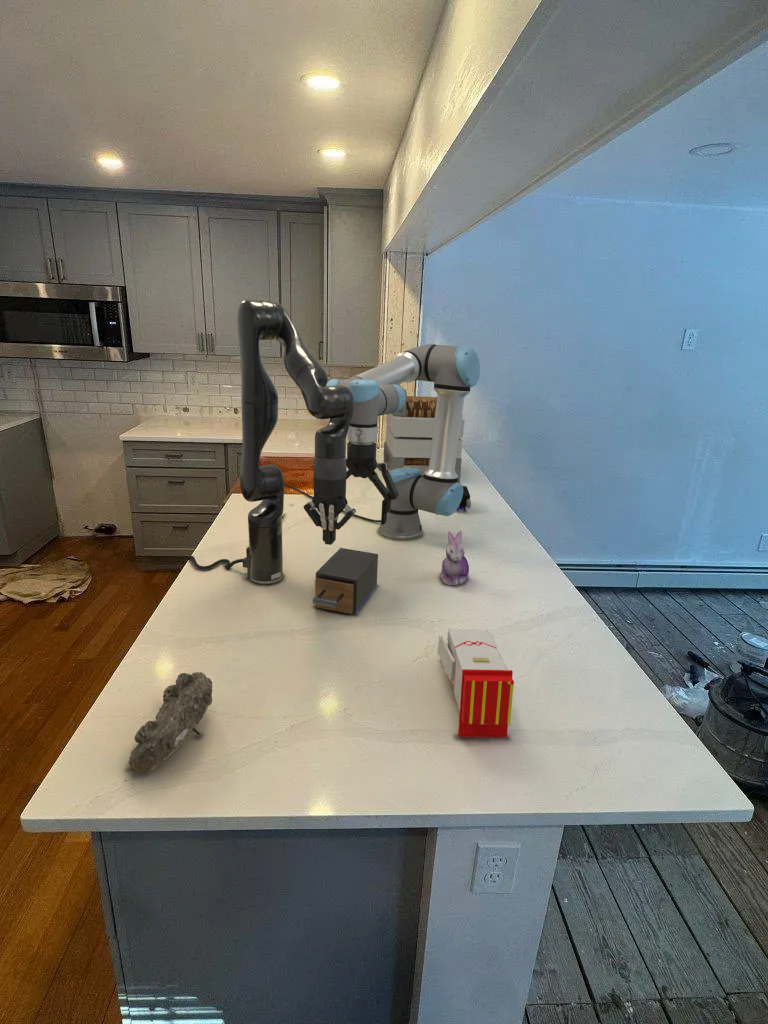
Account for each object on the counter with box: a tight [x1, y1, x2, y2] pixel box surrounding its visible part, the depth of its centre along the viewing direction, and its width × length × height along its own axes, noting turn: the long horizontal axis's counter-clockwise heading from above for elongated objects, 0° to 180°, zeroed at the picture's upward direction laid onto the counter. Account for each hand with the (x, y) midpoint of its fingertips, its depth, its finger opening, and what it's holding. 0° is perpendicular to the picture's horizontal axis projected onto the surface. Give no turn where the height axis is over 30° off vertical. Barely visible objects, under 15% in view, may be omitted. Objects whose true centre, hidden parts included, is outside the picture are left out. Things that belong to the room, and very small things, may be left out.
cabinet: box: [315, 547, 379, 616], centre depth 154 cm, size 18×11×10 cm, turn 163°
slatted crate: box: [383, 384, 465, 483], centre depth 268 cm, size 34×33×41 cm
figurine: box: [440, 530, 470, 586], centre depth 165 cm, size 9×10×15 cm
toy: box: [437, 628, 515, 738], centre depth 117 cm, size 12×13×30 cm
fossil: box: [128, 671, 213, 773], centre depth 102 cm, size 22×10×15 cm
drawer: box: [312, 577, 354, 615], centre depth 149 cm, size 22×10×8 cm, turn 163°
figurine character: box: [456, 485, 472, 513], centre depth 228 cm, size 7×8×15 cm
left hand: (329, 543), depth 136 cm, fingers closed
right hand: (359, 519), depth 152 cm, fingers open, 13 cm apart
